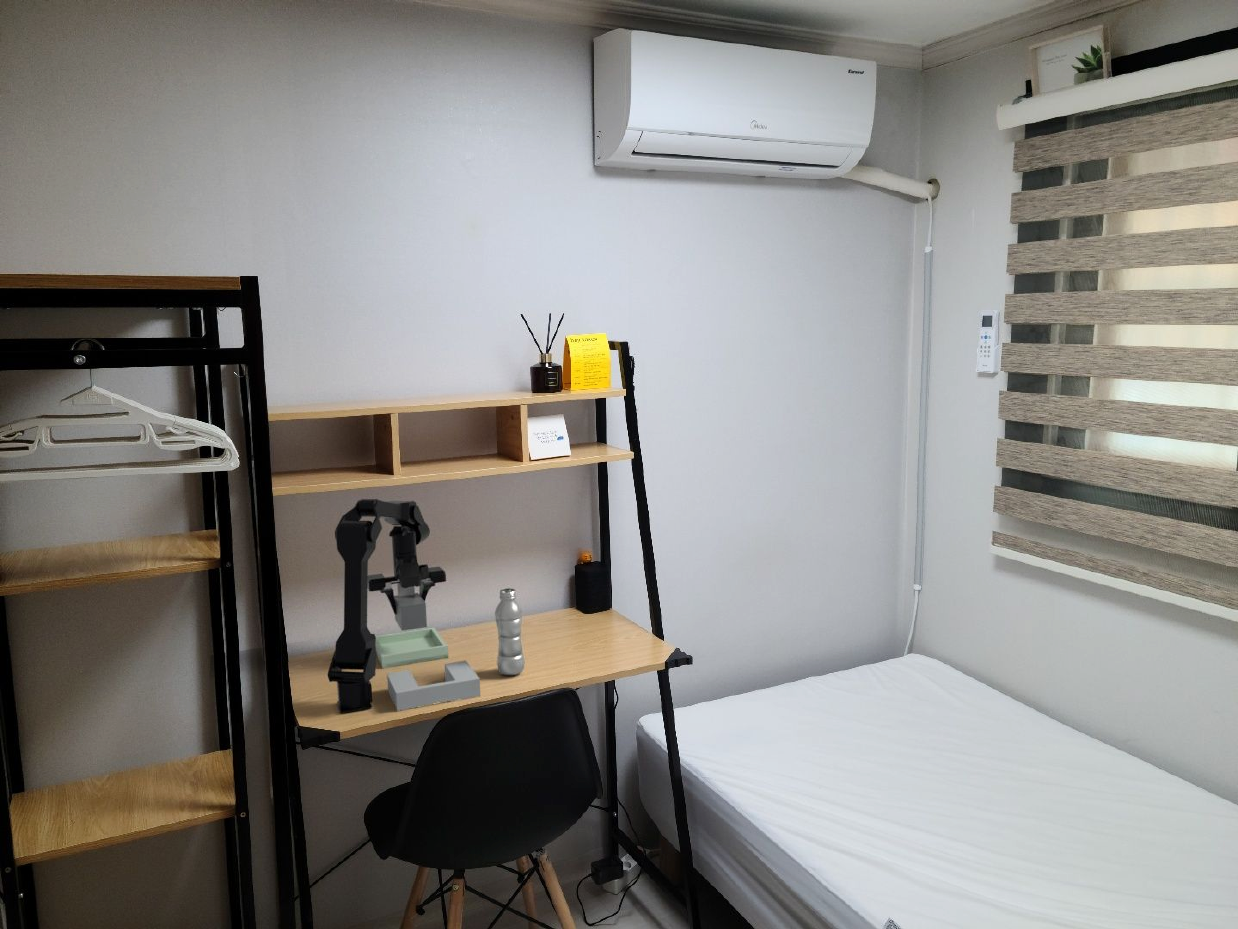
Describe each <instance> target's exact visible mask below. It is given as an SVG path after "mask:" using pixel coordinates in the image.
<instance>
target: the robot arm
mask: <svg viewBox="0 0 1238 929" xmlns="http://www.w3.org/2000/svg"><path fill="white" fill-rule="evenodd" d="M341 516H342V517H340V520H339V522H338V524H337V526H336V528H335V530H334V538H335V541H336V550H337V553H339V555H340V557H341V559H342V560H343V561H344V562H343V563H344V568H343V569H344V572H343V574H344V576H343V577H344V579H343V580H344V581H343V582H344V583H343V584H344V585H343V586H344V588H343V599H344V600H343V630H342V631H341V633H340V634H339V636H338V638H337V639H336V641H335V649H334V652H333V655H332V658H331V661H330V665H329V668H328V671H327V678H328V679H327V680H328V682H330V683H331V682H333V683H334V682H336V688H337V689H336V690H337V701H336V704H337V706H338V710H339V713H340V714H347V713H353V712H357V711H362V710H368V709H372V708H373V707H372V703H373V687H372V683H371V681H370V680H372V679H373V678H374V677H375V676H376V668H377V659H378V658H377V653H376V646H375V644H376V637H375V636H376V635H375V633H371V631H370V630H369V628H368V592H378V591H379V592H380V593H381V594H385V595H386V597H387V600H388V602H389V605H390V607H391V608H392V612H393V614H394V615H395V614H396V605H395V600H394V596H395V594H394V593H395V592H394V588H393V587H392V585H394V584H396V585H397V583H400V584H401V587H402V588H408V587H413V586H414V587H416V588H417V587H418V588H419V590H418V594H419V595H420V596H421V598H422V599H423V600H424V602H425V603H426V599H427V596H428V593H429V591H430V590H431V588H432V587H435V586H436V584H438V583H439V584H441V583H444V582H447V575H446V571H445V570H444V569H443V568H442V567H440V566H432V567H429V565H428V563H427V564H420V565H419V562H418V557H417V556H418V555H417V554H418V553H417V545H419V544H421V543H422V542H425V541H426V540H427V539H428V538H429V536H430V533H431V530H430V527H429V525H428V523H426V522H425V519H424V516H423V515H422V512H421V509H420V507H419V505H418V504H417V502H416V501H414V500H388V501H384V500H381V499H378V498H361V499H359V500H357V501H356V504H355V506H353V507H352V508H351V509H350V510H349V511H347V512H346V513H345V514H343V515H341ZM365 517H366V518H374V519H373V521H372V520H362V518H365ZM381 519H384V520H383V521H384V522H386V523H387V524H389V525H392V526H393V527H392V529H391V530H390V531H389V534H388V536H389V537H391V548H392V564H393V576H384V574H383V573H377V574H369V573H368V570H369V569H368V568H369V563H368V562H369V560H370V558H371V556H372V555H373V553H374V552H375V550H376V548H377V547H376V545H377V540H378V537H379V536H380V534H381V532H382V529H383V526H382V525H383V524H382V523H381ZM368 574H369V575H368ZM344 670H348V671H344ZM349 670H356V671H349ZM359 670H360V671H359Z"/></svg>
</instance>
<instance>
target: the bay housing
mask: <svg viewBox="0 0 1238 929" xmlns="http://www.w3.org/2000/svg"><path fill="white" fill-rule="evenodd" d="M444 677H445V681H444V682H437V683H433V684H428V685H422V686H421V685H420V686H419V685H418V683H417V681H416V679H415V677H414V676H413V674H412V672H411V670H410V669H405V670H399V671H395V672H390V673H389V672H388V673H386V679H387V681H386V682H387V692H388V693H389V695H390V698H391V700H392V703H393V702H394V703H393V704H395V705H394V706H396V707H395V708H396V712H400V710H402V711H406V710H405V709H407V710H410V709H409V708H413V709H416V708H415V707H418V706H423V705H429V706H431V705H430V704H433V703H437V702H445V703H448V702H447V701H451V702H455V701H454V700H456V701H459V700H458V699H461V700H466V699H472V698H476V696H478V697H481V682H480V681H481V680H480V677H479V676H478V675H477V673H476V672H475V670H474V669H473V668H472V666H471V665H470V664H469V662H468V661H467V660H466V659H465V660H460V661H455V662H448V663H444ZM418 708H419V707H418Z"/></svg>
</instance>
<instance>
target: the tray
mask: <svg viewBox="0 0 1238 929" xmlns="http://www.w3.org/2000/svg"><path fill="white" fill-rule="evenodd" d="M375 637H376V644H375V646H376V653H377V657H378V658H377V660H378V659H379V660H378V662H379V664H380V666H382V667H381V668H382V669H388V668H395V667H401V666H407V665H413V664H419V663H424V662H431V661H437V660H444V659H448V658H449V656H450V655H449V645H448V644H447V642H446V641H445V640H444V639H443V637H442V635H441V634H440V633H439V632H438V630H437V629H436V628H435V627H429V628H428V627H426V628H419V629H413V630H406V631H402V632H396V633H395V632H394V633H389V634H382V635H375ZM418 662H419V663H418ZM412 663H413V664H412Z"/></svg>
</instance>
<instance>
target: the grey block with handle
mask: <svg viewBox="0 0 1238 929" xmlns="http://www.w3.org/2000/svg"><path fill="white" fill-rule="evenodd" d="M396 586H397V595H394V600H395V605H396V614H394V620H395V622H396V623H397V625H398V627H399V628H400V631H402V632H404V631H411V630H418V629H425V628H428V624H427V603H426V601H425V602H424V600H423V599H422V598H421V596H420V595H419V592H415V591H416V590H415V589H416V588H415V586H413V587H408V588H402V587H401V584H400V583H397V584H396Z"/></svg>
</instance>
